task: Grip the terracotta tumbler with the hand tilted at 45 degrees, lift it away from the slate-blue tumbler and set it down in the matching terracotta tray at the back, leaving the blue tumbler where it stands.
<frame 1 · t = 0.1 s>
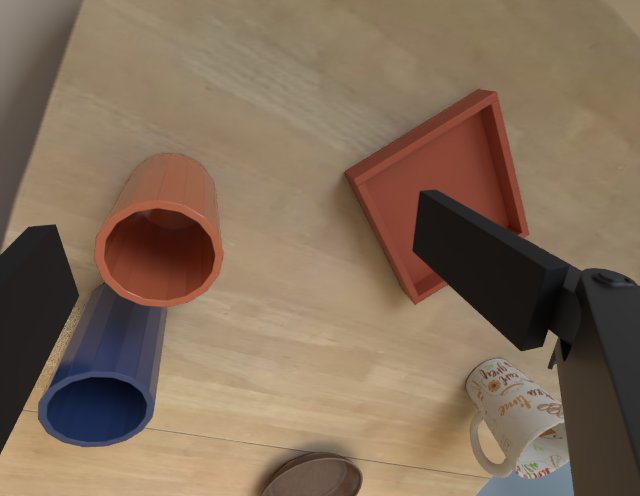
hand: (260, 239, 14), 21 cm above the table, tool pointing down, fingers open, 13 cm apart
red tray: (437, 201, 41), on the table
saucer: (307, 475, 56), on the table
mug: (478, 389, 58), on the table
blue tumbler: (127, 310, 37), on the table
terracotta tumbler: (173, 193, 33), on the table
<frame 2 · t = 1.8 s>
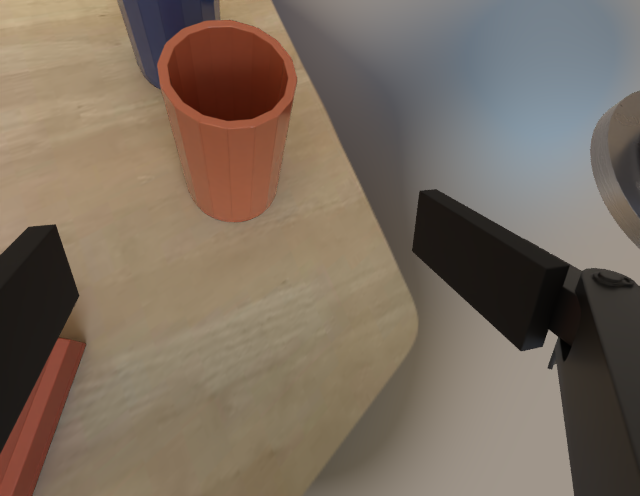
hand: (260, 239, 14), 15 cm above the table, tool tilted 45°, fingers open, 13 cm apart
blue tumbler: (181, 62, 34), on the table
terracotta tumbler: (233, 182, 31), on the table
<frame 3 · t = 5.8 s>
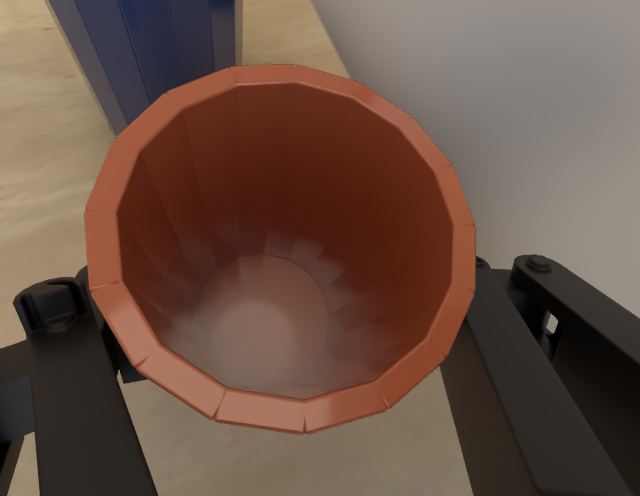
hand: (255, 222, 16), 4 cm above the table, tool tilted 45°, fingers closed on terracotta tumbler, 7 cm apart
blue tumbler: (175, 105, 21), on the table
terracotta tumbler: (262, 319, 18), on the table, touching gripper
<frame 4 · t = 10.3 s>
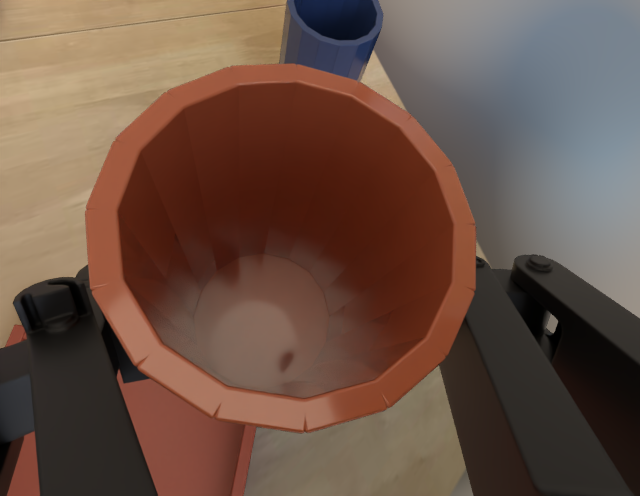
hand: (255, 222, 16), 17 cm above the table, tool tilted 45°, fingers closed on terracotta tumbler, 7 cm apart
red tray: (121, 460, 26), on the table
blue tumbler: (308, 115, 39), on the table
terracotta tumbler: (263, 319, 18), point 13 cm above the table, touching gripper
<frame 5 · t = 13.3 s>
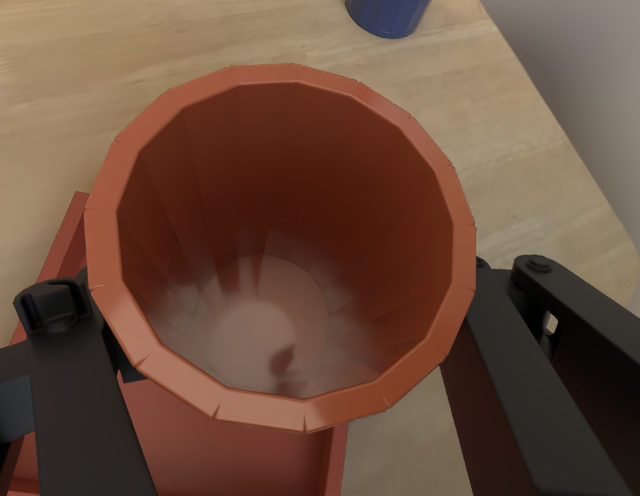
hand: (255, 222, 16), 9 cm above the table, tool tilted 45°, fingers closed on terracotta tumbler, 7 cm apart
red tray: (199, 358, 22), on the table
blue tumbler: (383, 8, 34), on the table
terracotta tumbler: (262, 319, 18), point 6 cm above the table, touching gripper
when the fingers open (4 cm above the table, at t = 15.1 s): terracotta tumbler stays where it is, resting on red tray.
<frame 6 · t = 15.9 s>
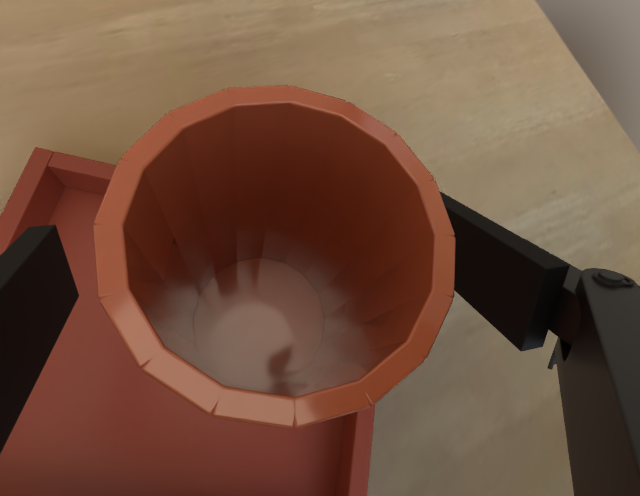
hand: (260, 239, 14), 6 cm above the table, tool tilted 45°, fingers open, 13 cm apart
red tray: (188, 353, 18), on the table
terracotta tumbler: (260, 321, 19), point 1 cm above the table, touching red tray
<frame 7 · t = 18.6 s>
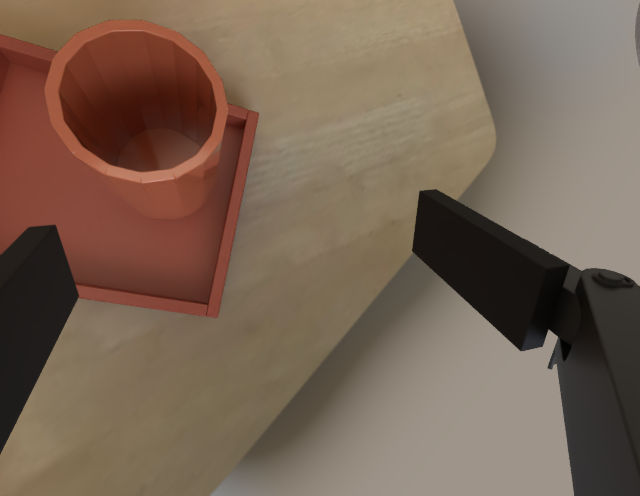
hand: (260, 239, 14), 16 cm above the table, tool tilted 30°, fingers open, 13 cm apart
red tray: (115, 190, 27), on the table
terracotta tumbler: (165, 172, 28), point 1 cm above the table, touching red tray
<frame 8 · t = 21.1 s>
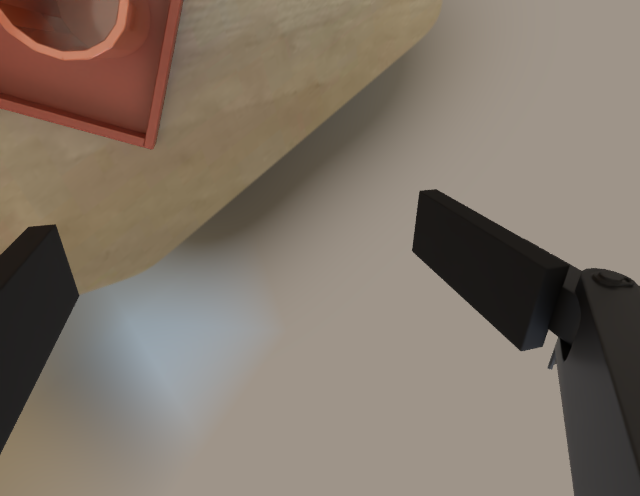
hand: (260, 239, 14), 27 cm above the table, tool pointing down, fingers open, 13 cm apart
red tray: (59, 21, 31), on the table
terracotta tumbler: (103, 9, 31), point 1 cm above the table, touching red tray
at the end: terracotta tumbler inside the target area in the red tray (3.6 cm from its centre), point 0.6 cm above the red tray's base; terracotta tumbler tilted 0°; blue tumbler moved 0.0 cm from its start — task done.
